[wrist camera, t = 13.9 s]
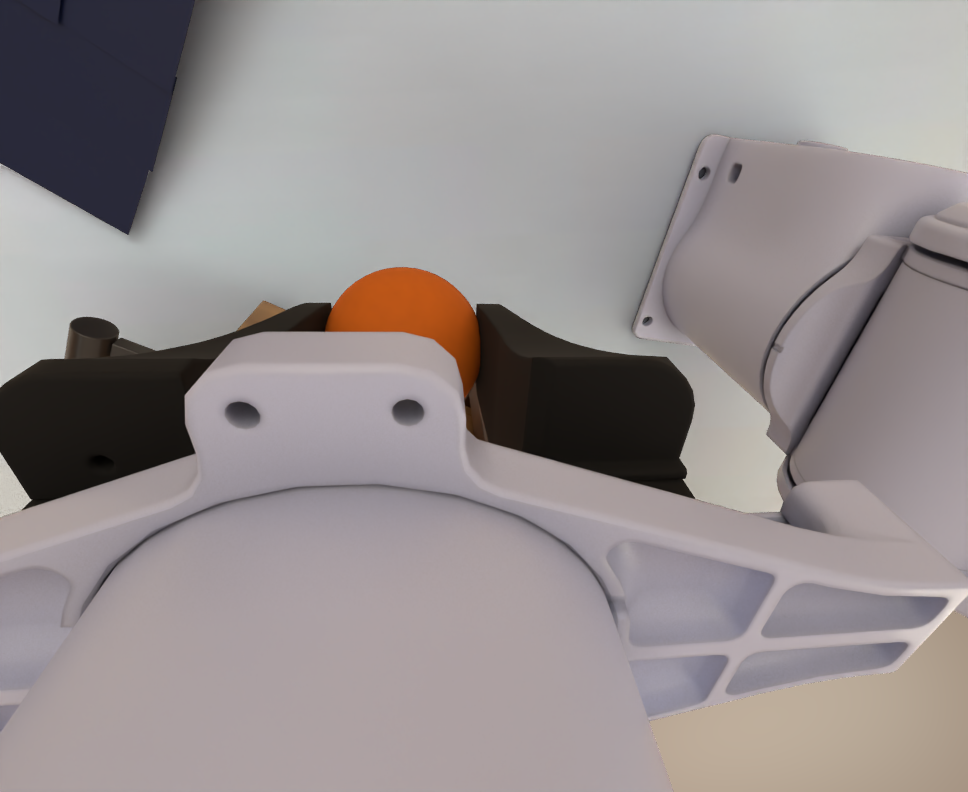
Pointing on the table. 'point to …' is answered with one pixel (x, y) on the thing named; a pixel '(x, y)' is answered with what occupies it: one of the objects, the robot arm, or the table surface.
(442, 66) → the table surface
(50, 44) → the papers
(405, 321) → the ball
